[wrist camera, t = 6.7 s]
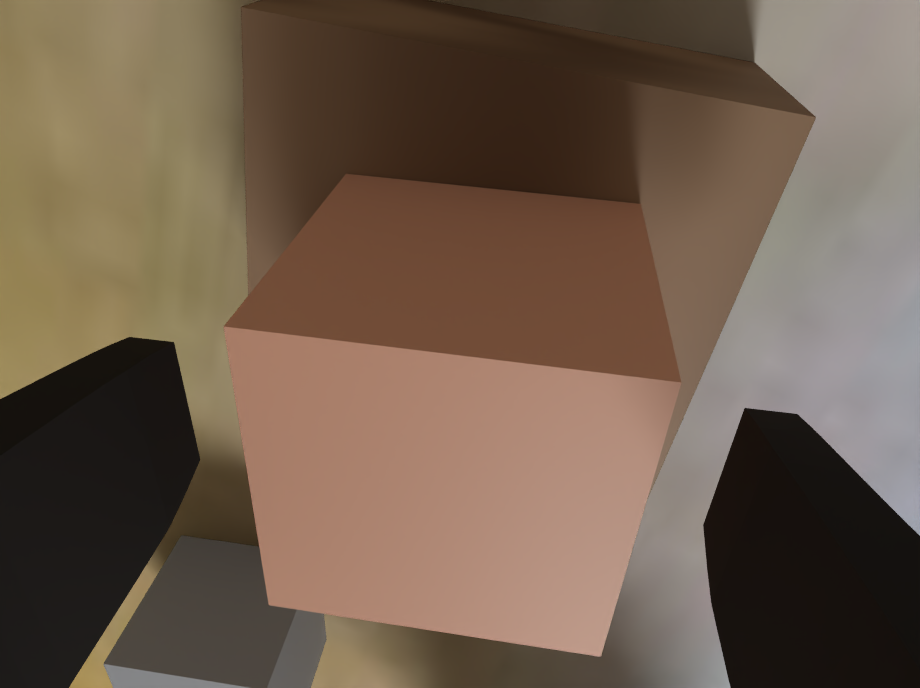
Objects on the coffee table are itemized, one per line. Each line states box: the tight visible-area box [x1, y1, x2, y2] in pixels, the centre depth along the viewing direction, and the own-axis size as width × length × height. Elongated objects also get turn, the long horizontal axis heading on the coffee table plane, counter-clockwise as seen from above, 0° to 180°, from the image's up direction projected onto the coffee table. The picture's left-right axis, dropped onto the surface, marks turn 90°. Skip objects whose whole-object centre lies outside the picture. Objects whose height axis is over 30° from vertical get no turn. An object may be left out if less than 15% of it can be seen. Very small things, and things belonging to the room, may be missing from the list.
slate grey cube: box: [104, 535, 326, 688], centre depth 21 cm, size 4×4×4 cm
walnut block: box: [241, 0, 816, 499], centre depth 13 cm, size 8×8×4 cm
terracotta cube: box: [224, 174, 682, 657], centre depth 10 cm, size 4×4×4 cm
